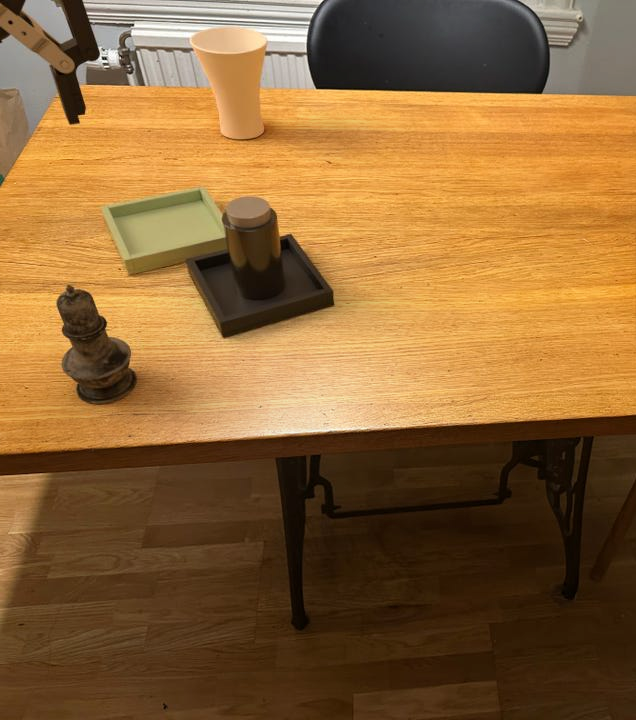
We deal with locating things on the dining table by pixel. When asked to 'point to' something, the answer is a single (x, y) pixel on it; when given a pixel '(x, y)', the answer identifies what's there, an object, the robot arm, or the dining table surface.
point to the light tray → (165, 228)
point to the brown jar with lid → (254, 248)
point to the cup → (234, 76)
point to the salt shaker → (93, 351)
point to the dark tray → (244, 314)
